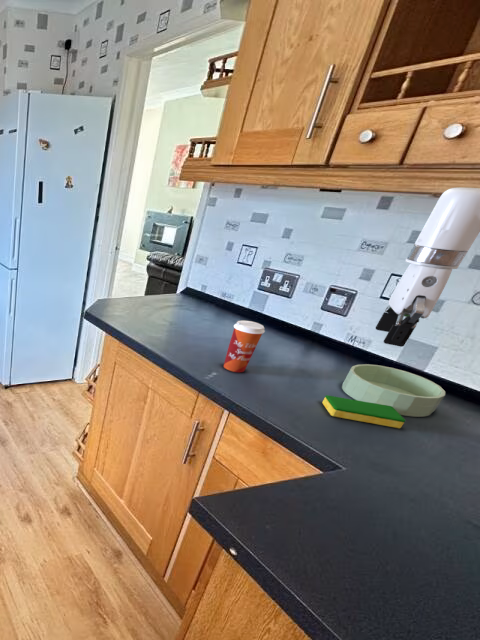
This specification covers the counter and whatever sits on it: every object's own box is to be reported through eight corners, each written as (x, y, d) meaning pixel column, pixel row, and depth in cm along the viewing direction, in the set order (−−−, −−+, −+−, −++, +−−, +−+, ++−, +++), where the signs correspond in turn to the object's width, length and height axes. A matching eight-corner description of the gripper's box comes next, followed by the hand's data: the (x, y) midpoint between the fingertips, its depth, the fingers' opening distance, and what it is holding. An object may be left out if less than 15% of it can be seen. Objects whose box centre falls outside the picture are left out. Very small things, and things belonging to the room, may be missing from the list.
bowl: (446, 407, 107) (459, 389, 104) (411, 423, 100) (424, 404, 97) (363, 376, 121) (372, 360, 119) (327, 388, 114) (336, 371, 112)
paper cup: (223, 372, 122) (240, 327, 115) (216, 361, 128) (231, 318, 122) (252, 375, 120) (271, 330, 114) (244, 364, 127) (260, 321, 120)
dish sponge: (401, 429, 98) (406, 420, 96) (331, 416, 102) (335, 408, 101) (387, 414, 104) (392, 405, 102) (321, 402, 108) (325, 394, 107)
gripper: (477, 268, 73) (421, 355, 81) (447, 253, 86) (402, 330, 94) (420, 261, 77) (372, 345, 85) (400, 248, 89) (360, 322, 98)
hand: (388, 337), depth 90 cm, fingers open, 9 cm apart
